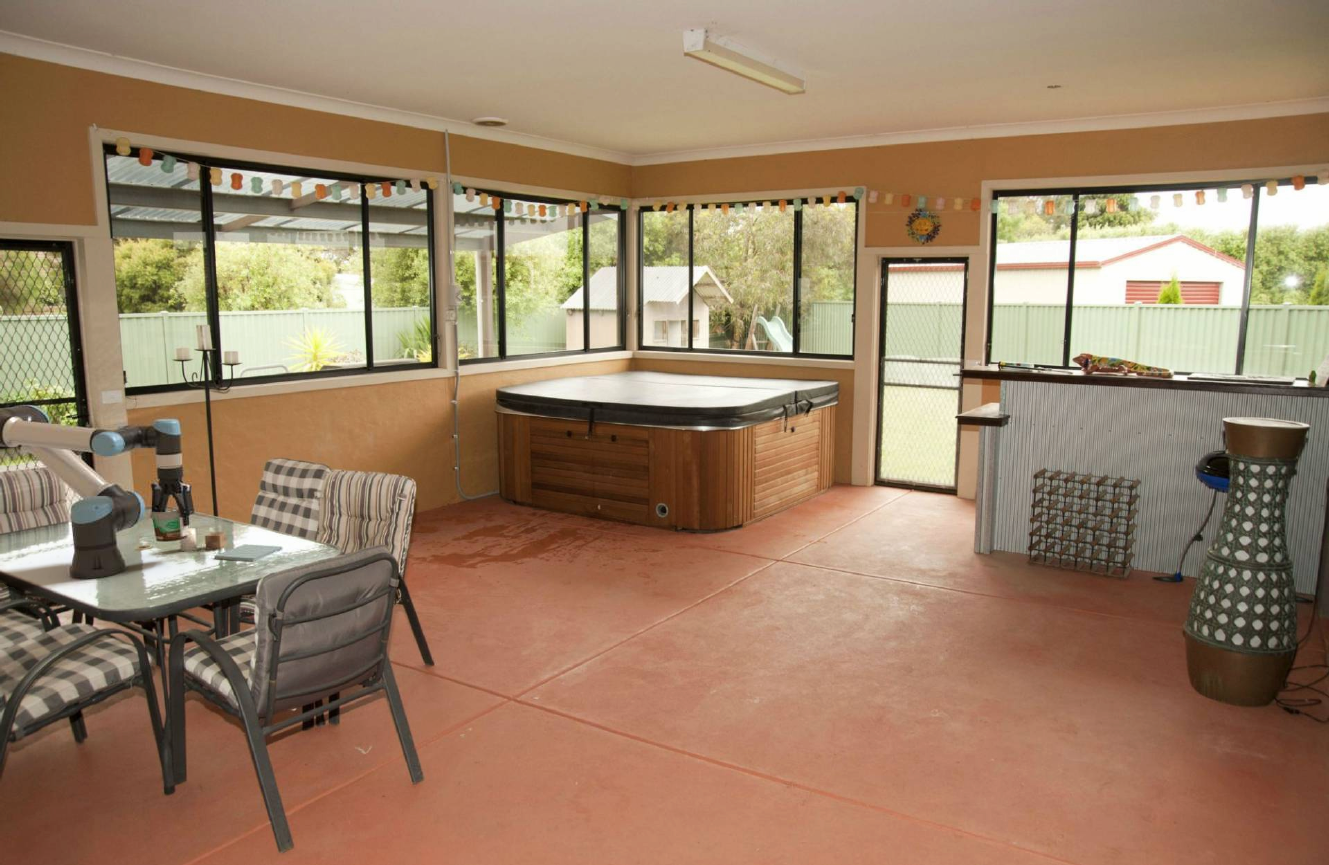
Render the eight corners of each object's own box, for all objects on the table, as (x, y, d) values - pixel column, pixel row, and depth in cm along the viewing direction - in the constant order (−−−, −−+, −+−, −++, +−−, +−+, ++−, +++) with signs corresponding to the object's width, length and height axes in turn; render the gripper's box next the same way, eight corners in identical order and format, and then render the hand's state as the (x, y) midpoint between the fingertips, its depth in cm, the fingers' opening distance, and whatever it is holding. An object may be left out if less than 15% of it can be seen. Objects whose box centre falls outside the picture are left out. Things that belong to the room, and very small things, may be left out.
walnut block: (206, 549, 321) (204, 535, 321) (212, 546, 326) (211, 532, 326) (220, 549, 321) (219, 535, 321) (227, 545, 326) (226, 532, 326)
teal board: (214, 558, 310) (214, 555, 309) (244, 547, 324) (244, 544, 324) (253, 561, 306) (253, 558, 306) (282, 549, 320) (282, 546, 320)
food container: (160, 544, 300) (158, 514, 298) (151, 541, 303) (149, 511, 302) (198, 537, 310) (196, 507, 308) (189, 534, 313) (187, 505, 312)
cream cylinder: (177, 550, 320) (175, 531, 319) (188, 547, 325) (186, 527, 324) (189, 551, 319) (188, 531, 318) (200, 547, 324) (198, 528, 323)
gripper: (204, 465, 304) (208, 533, 308) (152, 463, 309) (157, 530, 312) (187, 469, 297) (192, 539, 300) (135, 466, 302) (140, 535, 305)
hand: (174, 534), depth 306 cm, fingers closed on food container, 7 cm apart
